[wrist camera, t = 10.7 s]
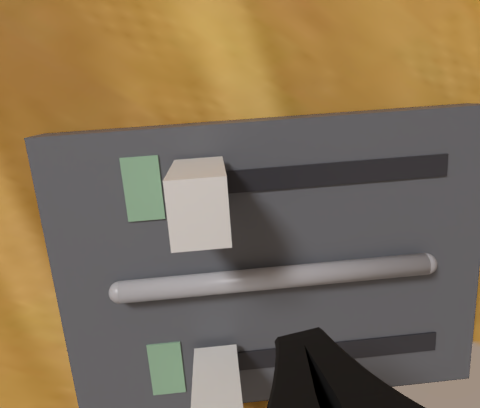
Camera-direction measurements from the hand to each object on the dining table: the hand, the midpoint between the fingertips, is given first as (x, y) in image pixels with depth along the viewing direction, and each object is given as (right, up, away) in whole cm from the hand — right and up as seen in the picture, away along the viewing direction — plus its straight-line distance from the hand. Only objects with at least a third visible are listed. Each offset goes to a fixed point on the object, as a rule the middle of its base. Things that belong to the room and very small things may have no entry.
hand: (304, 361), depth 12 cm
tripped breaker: (-3, -3, +8) cm, 9 cm away
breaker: (-4, +5, +6) cm, 8 cm away
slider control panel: (0, +2, +9) cm, 9 cm away
